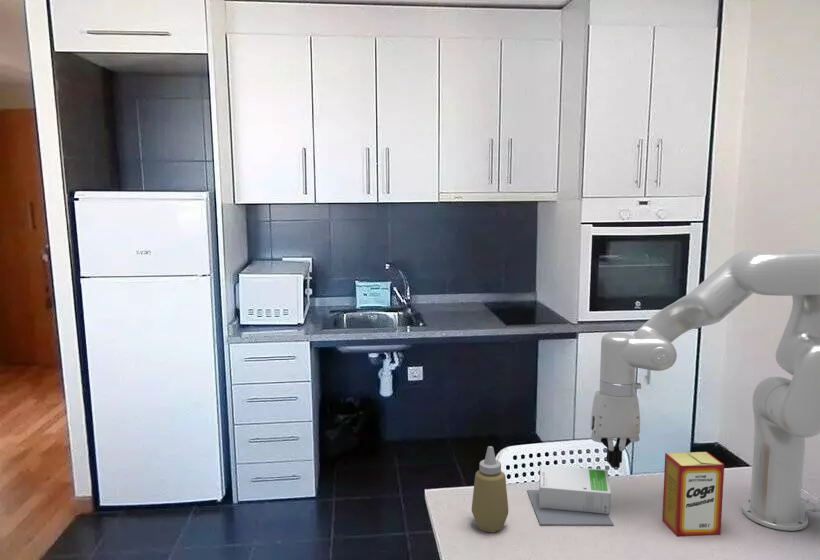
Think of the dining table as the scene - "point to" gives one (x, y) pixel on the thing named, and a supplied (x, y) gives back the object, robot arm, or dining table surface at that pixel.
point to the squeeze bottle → (490, 494)
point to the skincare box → (574, 489)
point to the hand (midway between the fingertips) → (613, 465)
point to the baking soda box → (693, 494)
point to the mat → (566, 515)
